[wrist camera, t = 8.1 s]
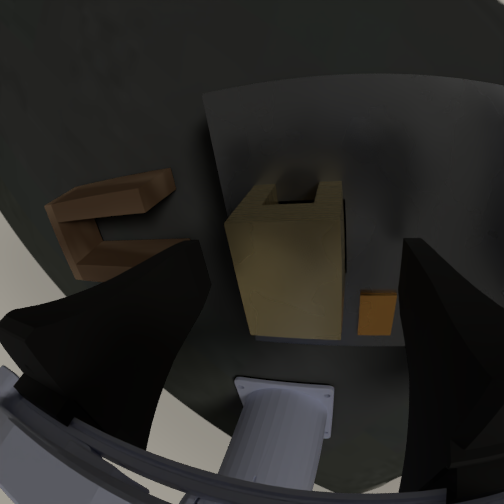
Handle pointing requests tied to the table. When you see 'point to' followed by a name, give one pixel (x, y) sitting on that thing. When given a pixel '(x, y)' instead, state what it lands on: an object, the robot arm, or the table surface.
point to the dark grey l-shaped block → (376, 175)
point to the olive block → (290, 262)
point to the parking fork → (103, 205)
